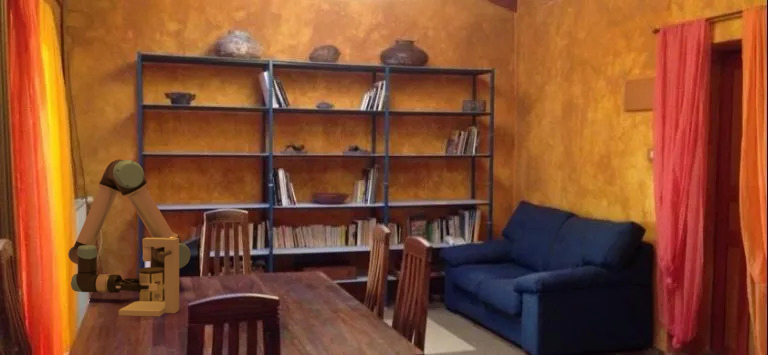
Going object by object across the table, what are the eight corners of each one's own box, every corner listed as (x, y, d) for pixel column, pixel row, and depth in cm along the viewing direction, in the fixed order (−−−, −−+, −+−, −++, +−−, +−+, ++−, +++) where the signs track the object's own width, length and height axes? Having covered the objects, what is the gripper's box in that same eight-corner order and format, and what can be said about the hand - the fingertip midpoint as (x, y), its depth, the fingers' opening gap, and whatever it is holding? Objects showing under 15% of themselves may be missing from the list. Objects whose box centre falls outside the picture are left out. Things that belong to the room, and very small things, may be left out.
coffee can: (149, 298, 298) (149, 266, 298) (170, 300, 295) (169, 267, 294) (133, 303, 289) (133, 270, 288) (154, 306, 285) (154, 271, 285)
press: (135, 305, 285) (135, 235, 284) (183, 307, 284) (183, 236, 283) (114, 317, 265) (113, 241, 264) (165, 319, 264) (165, 242, 263)
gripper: (121, 287, 304) (171, 288, 303) (97, 298, 282) (151, 299, 280) (121, 269, 304) (171, 271, 302) (97, 279, 281) (151, 280, 280)
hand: (162, 284), depth 291 cm, fingers closed on coffee can, 10 cm apart
